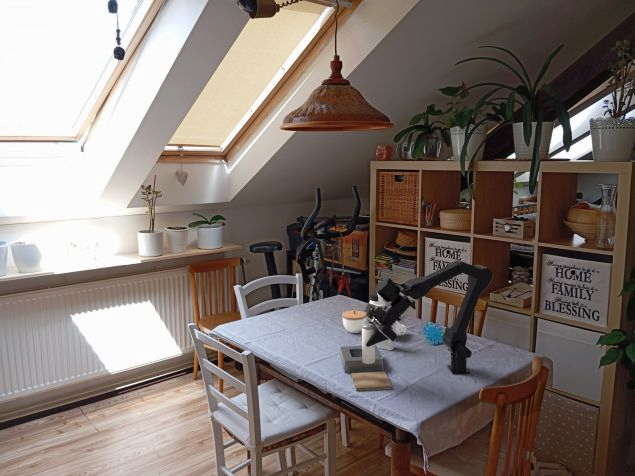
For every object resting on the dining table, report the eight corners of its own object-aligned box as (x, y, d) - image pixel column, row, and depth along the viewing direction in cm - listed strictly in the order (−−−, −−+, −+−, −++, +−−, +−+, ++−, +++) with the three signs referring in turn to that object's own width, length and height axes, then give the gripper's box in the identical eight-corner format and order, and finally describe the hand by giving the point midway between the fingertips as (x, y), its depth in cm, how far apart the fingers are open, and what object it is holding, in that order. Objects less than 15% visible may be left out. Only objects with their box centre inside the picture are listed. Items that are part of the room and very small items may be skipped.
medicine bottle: (367, 319, 253) (367, 294, 251) (370, 314, 260) (370, 290, 258) (382, 320, 251) (382, 295, 249) (385, 315, 258) (385, 291, 256)
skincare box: (377, 348, 217) (377, 319, 215) (382, 344, 220) (381, 316, 218) (392, 350, 214) (392, 321, 212) (396, 347, 217) (396, 318, 215)
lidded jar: (370, 332, 235) (370, 312, 233) (348, 336, 231) (348, 315, 229) (360, 325, 245) (359, 305, 243) (338, 328, 241) (338, 308, 239)
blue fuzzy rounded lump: (426, 343, 217) (421, 320, 222) (420, 349, 221) (415, 327, 227) (451, 343, 219) (445, 321, 225) (444, 350, 224) (439, 328, 230)
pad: (391, 388, 180) (391, 386, 180) (356, 390, 179) (356, 388, 179) (384, 374, 192) (384, 371, 192) (351, 375, 191) (351, 373, 191)
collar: (383, 370, 195) (383, 358, 194) (344, 372, 194) (344, 360, 193) (376, 356, 209) (375, 345, 208) (340, 357, 208) (340, 346, 207)
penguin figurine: (380, 317, 227) (401, 315, 234) (378, 337, 228) (399, 334, 235) (390, 321, 222) (411, 318, 229) (388, 341, 223) (409, 338, 230)
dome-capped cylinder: (377, 362, 185) (377, 326, 183) (366, 364, 183) (366, 328, 181) (370, 357, 189) (370, 322, 187) (359, 360, 187) (359, 324, 185)
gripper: (371, 288, 192) (341, 320, 192) (387, 303, 174) (355, 338, 174) (392, 308, 195) (363, 339, 195) (410, 324, 177) (378, 359, 177)
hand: (364, 343), depth 185 cm, fingers closed on dome-capped cylinder, 4 cm apart
